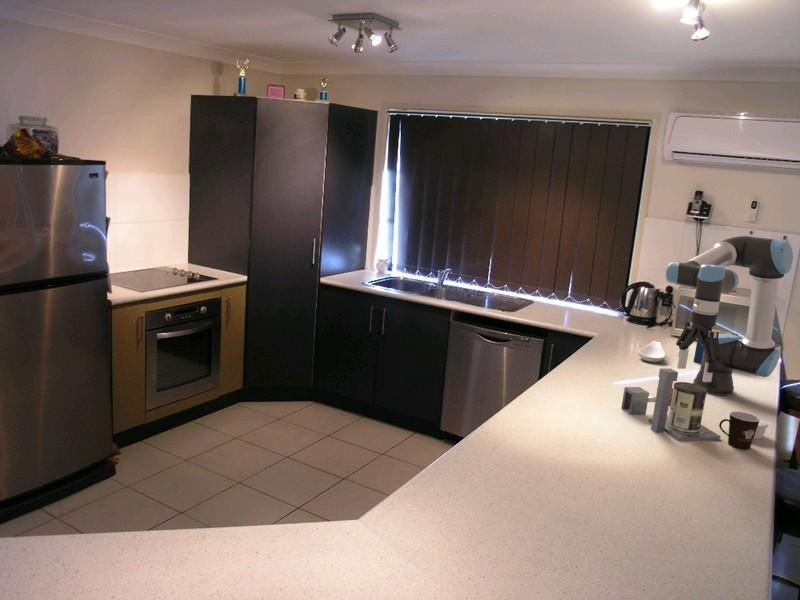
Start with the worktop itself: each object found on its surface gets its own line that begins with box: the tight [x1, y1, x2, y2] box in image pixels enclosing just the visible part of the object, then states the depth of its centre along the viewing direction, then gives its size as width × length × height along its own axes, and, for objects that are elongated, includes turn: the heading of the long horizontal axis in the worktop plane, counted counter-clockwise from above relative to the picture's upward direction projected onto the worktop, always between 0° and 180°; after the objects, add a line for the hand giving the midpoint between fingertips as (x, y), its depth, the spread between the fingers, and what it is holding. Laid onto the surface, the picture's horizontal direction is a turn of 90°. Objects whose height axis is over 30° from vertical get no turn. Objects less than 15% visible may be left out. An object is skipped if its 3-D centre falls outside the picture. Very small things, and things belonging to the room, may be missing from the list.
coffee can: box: [668, 381, 708, 432], centre depth 221 cm, size 10×10×14 cm
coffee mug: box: [718, 410, 761, 451], centre depth 213 cm, size 12×9×10 cm
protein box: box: [692, 328, 739, 365], centre depth 310 cm, size 10×15×16 cm
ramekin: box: [753, 417, 769, 440], centre depth 224 cm, size 11×11×5 cm
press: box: [620, 367, 721, 442], centre depth 226 cm, size 20×28×21 cm
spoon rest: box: [637, 340, 666, 363], centre depth 313 cm, size 24×12×7 cm, turn 151°
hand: (693, 374), depth 220 cm, fingers open, 13 cm apart
